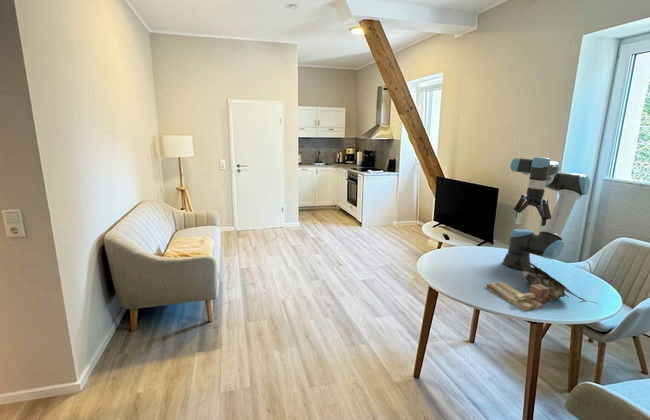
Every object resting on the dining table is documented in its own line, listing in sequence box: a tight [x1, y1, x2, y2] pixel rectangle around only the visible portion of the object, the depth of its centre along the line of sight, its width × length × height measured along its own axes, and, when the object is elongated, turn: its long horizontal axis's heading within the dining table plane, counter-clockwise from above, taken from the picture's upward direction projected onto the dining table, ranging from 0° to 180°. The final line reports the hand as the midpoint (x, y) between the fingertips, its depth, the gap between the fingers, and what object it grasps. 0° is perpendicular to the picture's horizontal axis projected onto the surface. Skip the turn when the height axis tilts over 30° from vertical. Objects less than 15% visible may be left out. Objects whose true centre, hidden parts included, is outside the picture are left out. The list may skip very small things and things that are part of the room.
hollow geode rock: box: [522, 261, 571, 302], centre depth 176 cm, size 28×13×15 cm
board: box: [486, 281, 543, 311], centre depth 168 cm, size 10×24×2 cm, turn 18°
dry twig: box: [563, 287, 597, 304], centre depth 174 cm, size 24×10×2 cm, turn 5°
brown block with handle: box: [515, 284, 549, 305], centre depth 162 cm, size 16×5×8 cm, turn 108°
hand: (528, 227), depth 177 cm, fingers open, 13 cm apart
